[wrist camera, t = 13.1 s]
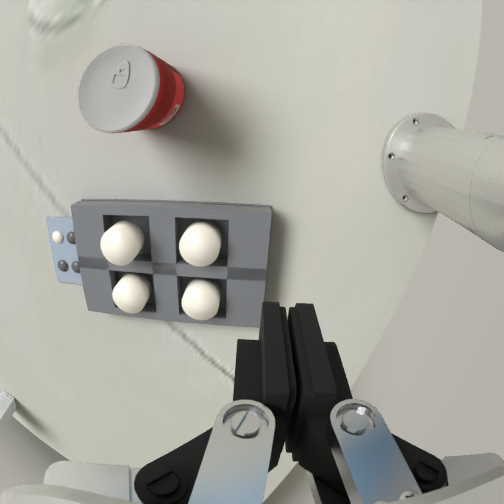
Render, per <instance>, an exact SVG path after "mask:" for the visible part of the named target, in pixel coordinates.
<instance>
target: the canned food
mask: <svg viewBox="0 0 504 504" xmlns="http://www.w3.org/2000/svg"><path fill="white" fill-rule="evenodd" d="M184 92H185V88H184V82H183V80H182V77H181V75H180V74H179V72H178V71H177V70H176V69H175V68H174V67H172V66H171V65H169V64H168V63H166V62H165V61H163V60H161V59H160V58H158V57H157V56H155V55H154V54H152V53H150V52H149V51H147V50H145V49H143V48H141V47H139V46H136V45H132V44H118V45H113V46H111V47H108V48H106V49H104V50H103V51H101V52H99V53H98V54H97V55H96V56H95V57H94V58H93V59H92V60H91V61H90V62H89V63H88V65H87V66H86V68H85V70H84V71H83V73H82V75H81V78H80V81H79V85H78V90H77V101H78V107H79V110H80V113H81V115H82V117H83V118H84V120H85V121H86V122H87V123H88V124H89V125H90V126H91V127H92V128H94V129H95V130H98V131H101V132H106V133H121V132H130V131H138V130H146V129H154V128H158V127H161V126H163V125H165V124H167V123H168V122H169V121H171V120H172V119H173V118H174V117H175V116H176V114H177V113H178V111H179V110H180V108H181V105H182V103H183V99H184Z"/></svg>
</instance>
